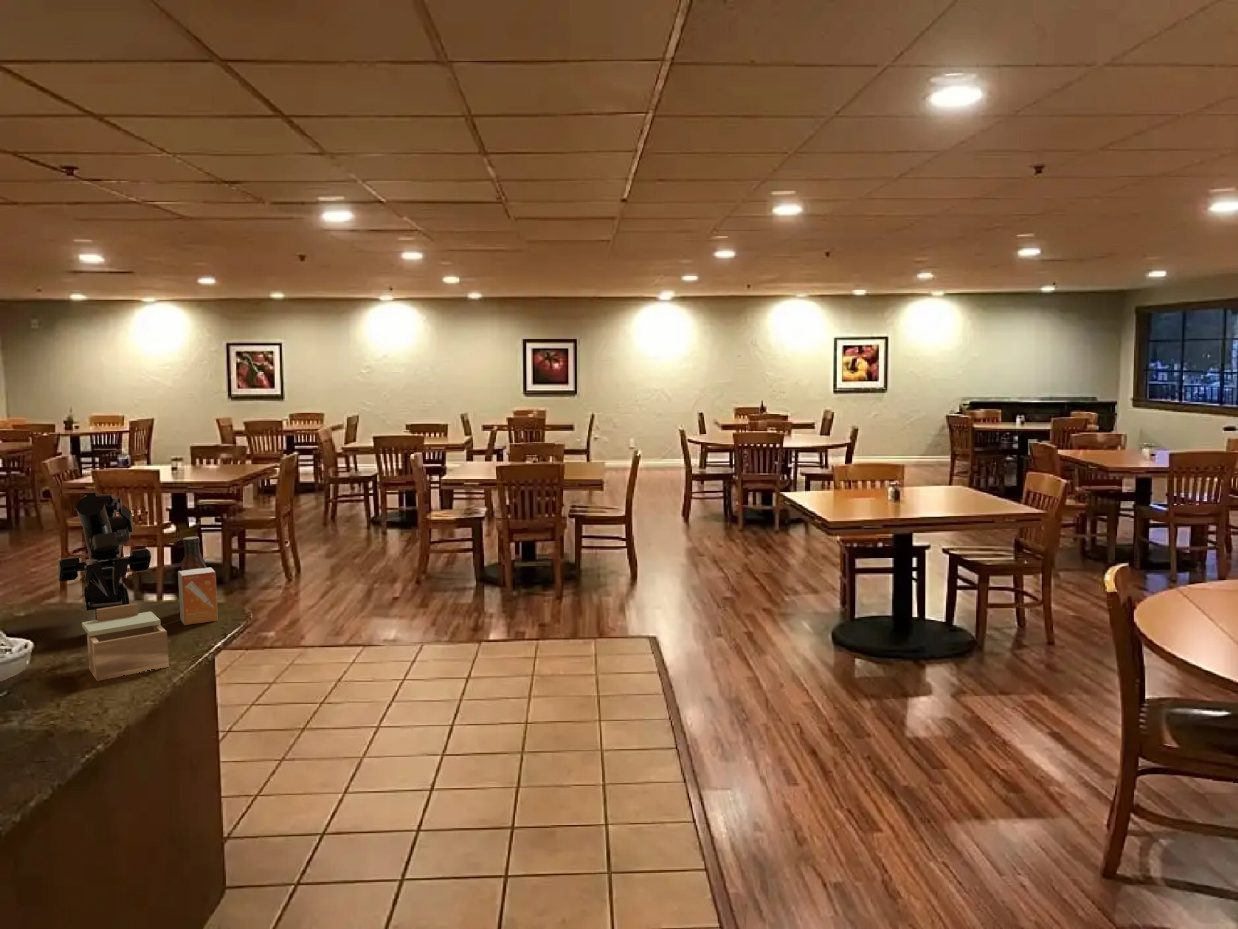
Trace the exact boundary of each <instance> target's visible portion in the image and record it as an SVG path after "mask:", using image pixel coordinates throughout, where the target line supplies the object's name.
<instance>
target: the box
mask: <svg viewBox="0 0 1238 929" xmlns="http://www.w3.org/2000/svg"><path fill="white" fill-rule="evenodd" d="M168 642H169V641H168V630H166V629H165V628H164V627H163V626H162V625H161V624H160V625H154V626H148V627H142V628H136V629H130V630H124V631H118V632H112V633H106V634H101V635H95V636H89V635H88V634H87V633H86V643H87V655H88V667H89V668H88V669H89V671H90V672H91V674H92V676H93V677H94V679H95V680H96V681H97V682H99V681H103V680H109V679H114V678H118V677H119V678H120V677H123V675H125V676H129V675H134V674H140V673H143V672H142V671H145V672H148V671H147V670H150V671H152V670H151V669H155V670H159V669H160V668H161V669H165V668H170V663H169V661H170V659H169V644H168ZM139 672H140V673H139Z"/></svg>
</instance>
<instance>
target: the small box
mask: <svg viewBox="0 0 1238 929" xmlns="http://www.w3.org/2000/svg"><path fill="white" fill-rule="evenodd" d="M177 577H178V578H177V580H178V581H177V582H178V596H179V597H178V600H179V602H178V603H179V615H180V621H181V622H182V624H183V625H184V626H188V625H194V624H195V625H196V624H202V623H209V622H217V621H218V620H219V619H218V616H219V615H218V598H217V597H218V596H217V577H216V570H214V568H213V567H207V568H201V569H191V570H184V571H182V570H178V571H177Z"/></svg>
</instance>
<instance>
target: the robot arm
mask: <svg viewBox="0 0 1238 929" xmlns="http://www.w3.org/2000/svg"><path fill="white" fill-rule="evenodd" d="M75 509H76V513H77V515H78V518H79V522H80V525H81V526H82V529H83V535H84V539H85V540H84V541H85V545H86V549H87V552H88V558H89V559H88V558H87V559H84V561H81V560H80V556H72V557H71V556H70V557H63V558H60V559H59V561H58V564H57V565H58V566H57V576H58V580H59V582H69V581H75V580H76V579H77V578H78V577H79V574H78V572H83V573H85V575H84V580H85V581H86V582H87V585H85V587H84V601H85V607H86V611H87V612H89V611H94V620H97V611H96V609H100V608H107V607H113V606H120V605H126V604H131V603H130V595H129V590H128V587H126V585H125V582H123V580H122V577H125V576H127V573H128V571H127V570H128V566H129V570H130V571H132V572H134V573H135V572H136V573H137V572H141V571H142V572H144V571H147V570H149V569H150V566H151V565H150V564H151V559H152V554H151V550H150V549H148V548H147V547H144V548H138V549H131V550H130V553H129V556H128V555H126V556H125V555H124V556H121V554H122V547H123V545H126V544H127V543H128V542H129V541H130V540H131V535H132V533H134V529H135V526H134V525H135V524H134V518H133V513H132V511H131V510H130V509H129V508H128V507H126V506H125V505H124V503H123V501H122V498H121V497H119V496H116V495H114V494H113V493H111V494H110V493H108V494H106V493H105V494H97V492H96V491H95V492H87V493H86V495H84V496H83V498H81V499H79V500H78V501H77V503H76V505H75ZM117 513H119V515H117Z"/></svg>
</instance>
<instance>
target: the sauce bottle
mask: <svg viewBox="0 0 1238 929" xmlns="http://www.w3.org/2000/svg"><path fill="white" fill-rule="evenodd" d="M200 543H201V541H200V537H199V536H186V537H184V538H182V544H183V548H184V552H183V553H184V557H183V559H182V560H181V563H180V564H181V565H180V569H181V571H184V570H191V569H201V568H208V567H207V565H206V564H207V563H205V560H204V557H203V555H202V553H201V551H200V550H201V549H200Z"/></svg>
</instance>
